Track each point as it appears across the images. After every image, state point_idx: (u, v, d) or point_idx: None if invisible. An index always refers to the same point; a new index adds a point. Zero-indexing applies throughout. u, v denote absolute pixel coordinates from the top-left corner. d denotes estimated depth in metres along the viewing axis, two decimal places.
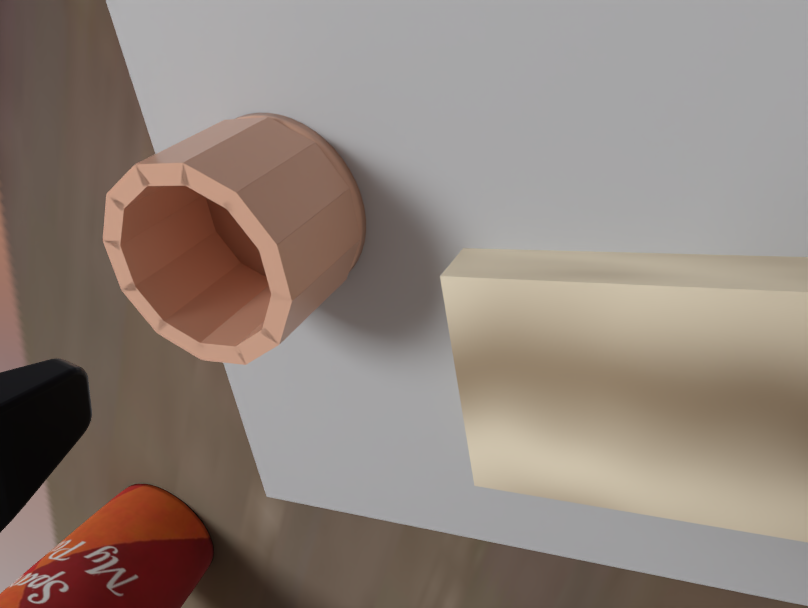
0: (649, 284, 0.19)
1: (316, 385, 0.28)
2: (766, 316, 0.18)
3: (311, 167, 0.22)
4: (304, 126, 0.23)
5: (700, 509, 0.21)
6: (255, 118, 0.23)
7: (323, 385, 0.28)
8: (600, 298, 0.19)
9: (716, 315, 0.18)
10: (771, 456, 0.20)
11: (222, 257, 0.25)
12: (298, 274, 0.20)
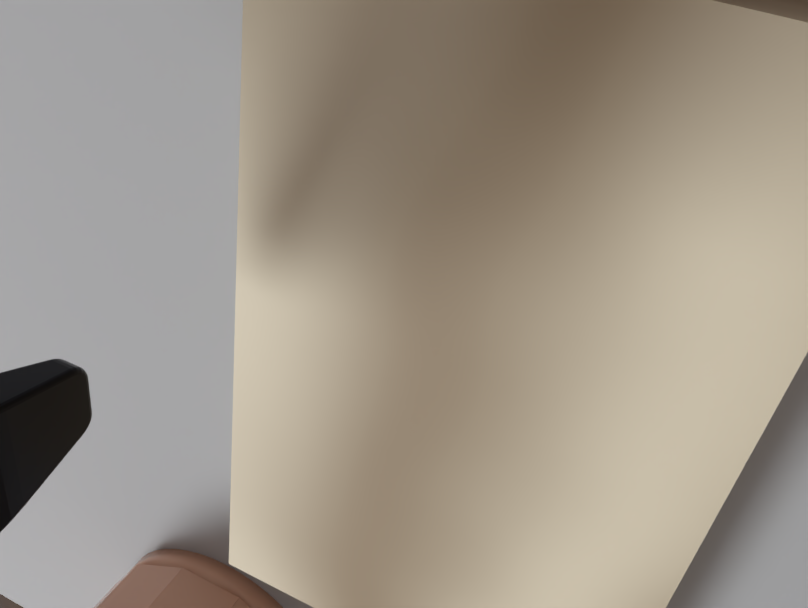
0: (235, 345, 0.12)
1: None
2: (278, 216, 0.11)
3: (127, 591, 0.18)
4: (141, 559, 0.20)
5: (691, 465, 0.10)
6: None
7: None
8: (255, 411, 0.13)
9: (278, 282, 0.11)
10: (563, 300, 0.09)
11: None
12: None
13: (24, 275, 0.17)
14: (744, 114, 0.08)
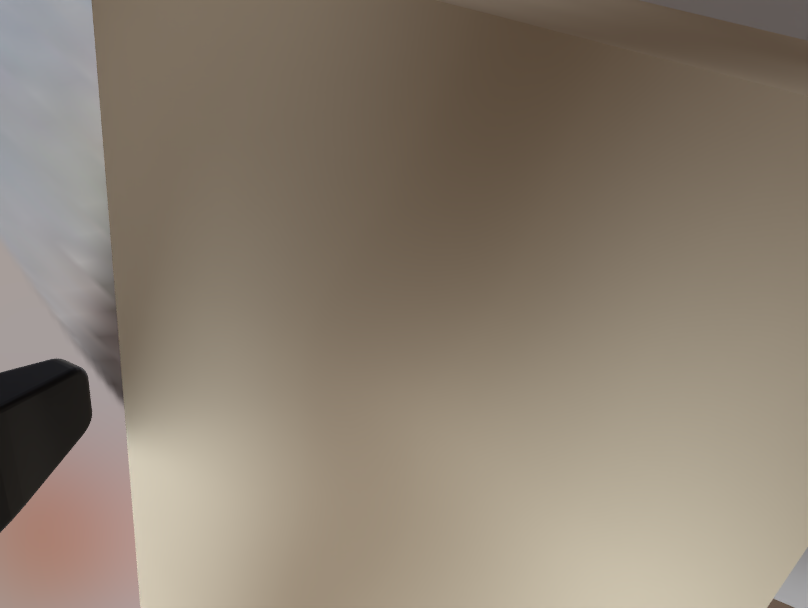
0: (130, 449, 0.10)
1: None
2: (162, 309, 0.09)
3: None
4: None
5: None
6: None
7: None
8: (158, 524, 0.11)
9: (169, 385, 0.09)
10: (509, 432, 0.07)
11: None
12: None
13: None
14: (738, 221, 0.06)
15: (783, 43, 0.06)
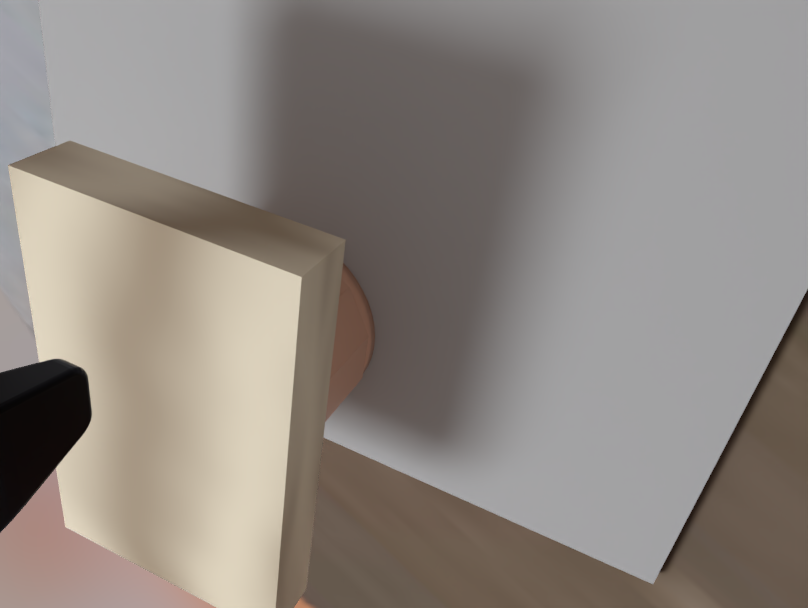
0: None
1: (491, 407, 0.23)
2: (52, 320, 0.19)
3: None
4: None
5: (266, 460, 0.18)
6: None
7: (492, 399, 0.22)
8: None
9: (59, 356, 0.19)
10: (189, 372, 0.18)
11: None
12: None
13: None
14: (233, 290, 0.16)
15: (269, 221, 0.16)
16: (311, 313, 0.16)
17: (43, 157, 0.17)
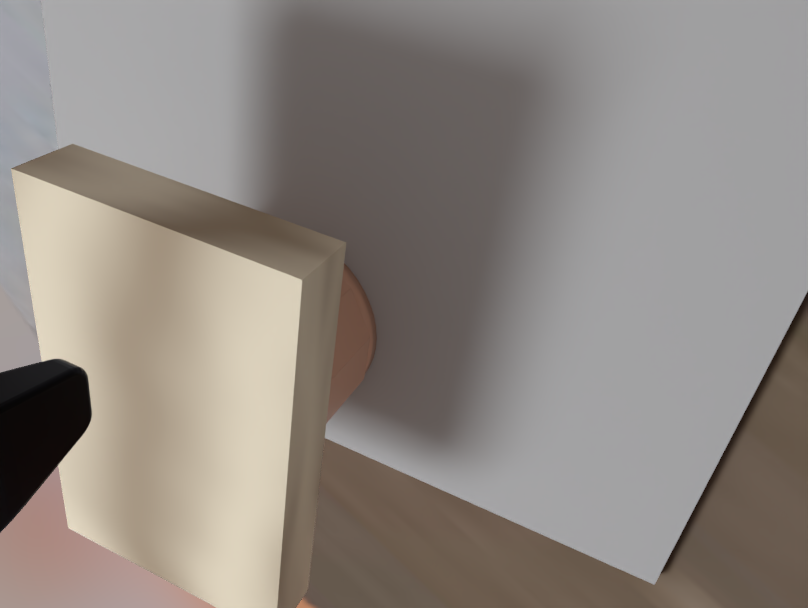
0: None
1: (492, 407, 0.23)
2: (55, 322, 0.19)
3: None
4: None
5: (267, 462, 0.18)
6: None
7: (493, 399, 0.23)
8: None
9: (62, 357, 0.20)
10: (190, 374, 0.18)
11: None
12: None
13: None
14: (234, 293, 0.16)
15: (270, 224, 0.17)
16: (312, 316, 0.16)
17: (45, 160, 0.18)
